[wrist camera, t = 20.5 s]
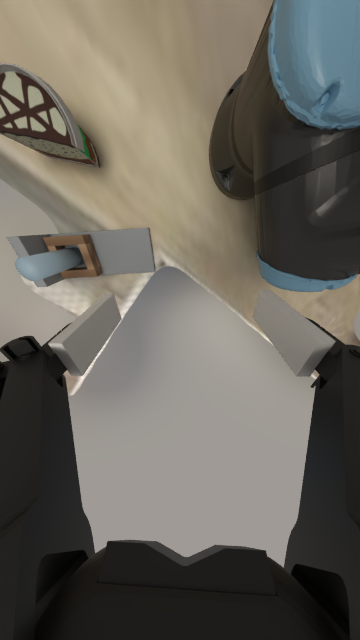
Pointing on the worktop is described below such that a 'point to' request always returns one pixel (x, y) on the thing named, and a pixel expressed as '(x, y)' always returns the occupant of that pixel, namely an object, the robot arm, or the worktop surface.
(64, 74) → the worktop surface
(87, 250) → the socket block
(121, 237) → the board
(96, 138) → the worktop surface
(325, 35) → the robot arm
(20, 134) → the food container
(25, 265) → the dowel
